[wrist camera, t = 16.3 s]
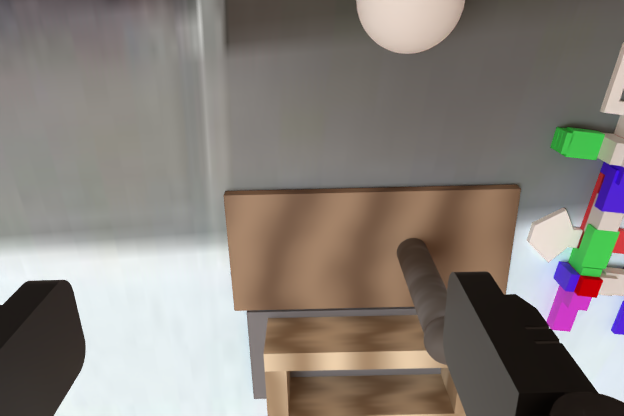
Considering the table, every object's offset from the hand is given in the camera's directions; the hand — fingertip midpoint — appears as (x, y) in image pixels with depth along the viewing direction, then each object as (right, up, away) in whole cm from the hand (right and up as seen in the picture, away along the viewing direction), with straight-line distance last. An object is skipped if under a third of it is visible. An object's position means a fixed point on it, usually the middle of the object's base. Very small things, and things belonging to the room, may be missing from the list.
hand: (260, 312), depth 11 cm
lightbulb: (+7, +17, +26) cm, 32 cm away
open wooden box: (+6, -12, +37) cm, 39 cm away
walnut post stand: (+6, -1, +33) cm, 34 cm away
